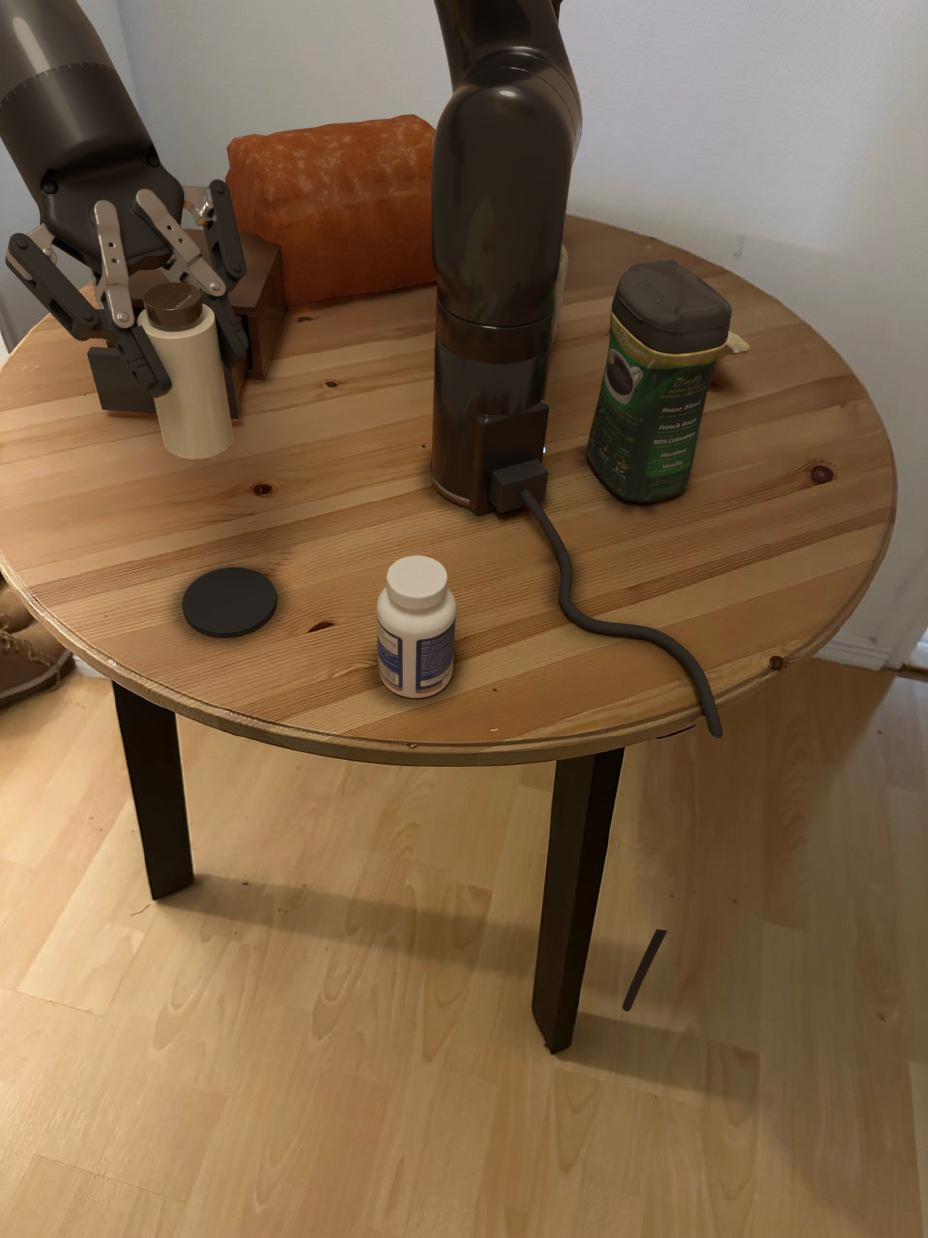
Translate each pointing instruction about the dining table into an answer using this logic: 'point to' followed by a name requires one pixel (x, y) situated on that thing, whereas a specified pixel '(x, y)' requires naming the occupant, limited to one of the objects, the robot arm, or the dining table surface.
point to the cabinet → (241, 294)
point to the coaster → (229, 602)
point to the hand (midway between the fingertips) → (201, 376)
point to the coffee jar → (656, 380)
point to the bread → (339, 204)
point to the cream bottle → (188, 371)
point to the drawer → (127, 397)
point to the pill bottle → (416, 628)
